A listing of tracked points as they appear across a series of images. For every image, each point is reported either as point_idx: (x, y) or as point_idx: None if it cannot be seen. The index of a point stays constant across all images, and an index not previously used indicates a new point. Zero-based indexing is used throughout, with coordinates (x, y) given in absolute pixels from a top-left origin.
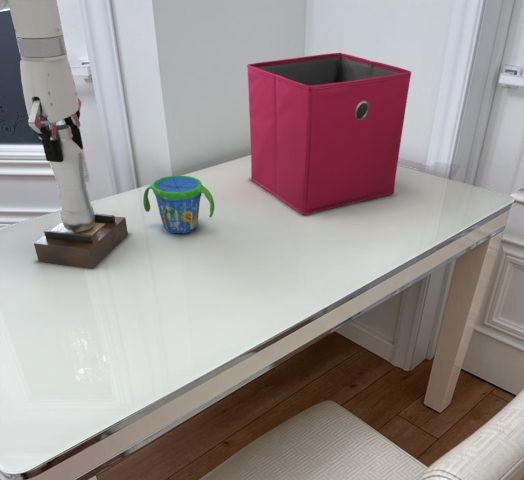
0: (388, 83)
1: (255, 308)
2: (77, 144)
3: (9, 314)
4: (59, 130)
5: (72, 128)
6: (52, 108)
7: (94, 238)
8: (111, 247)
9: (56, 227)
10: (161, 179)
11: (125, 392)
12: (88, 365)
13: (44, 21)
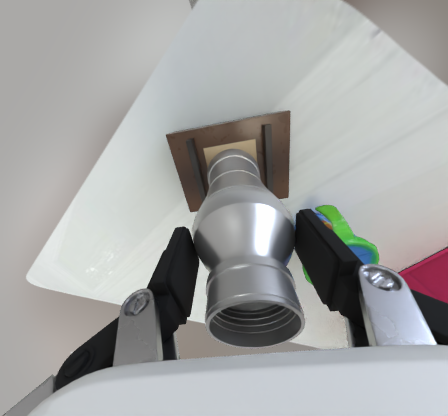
0: None
1: (205, 308)
2: (301, 254)
3: (86, 186)
4: (217, 339)
5: (334, 295)
6: None
7: None
8: None
9: (224, 126)
10: (360, 245)
11: (100, 291)
12: (98, 269)
13: None
